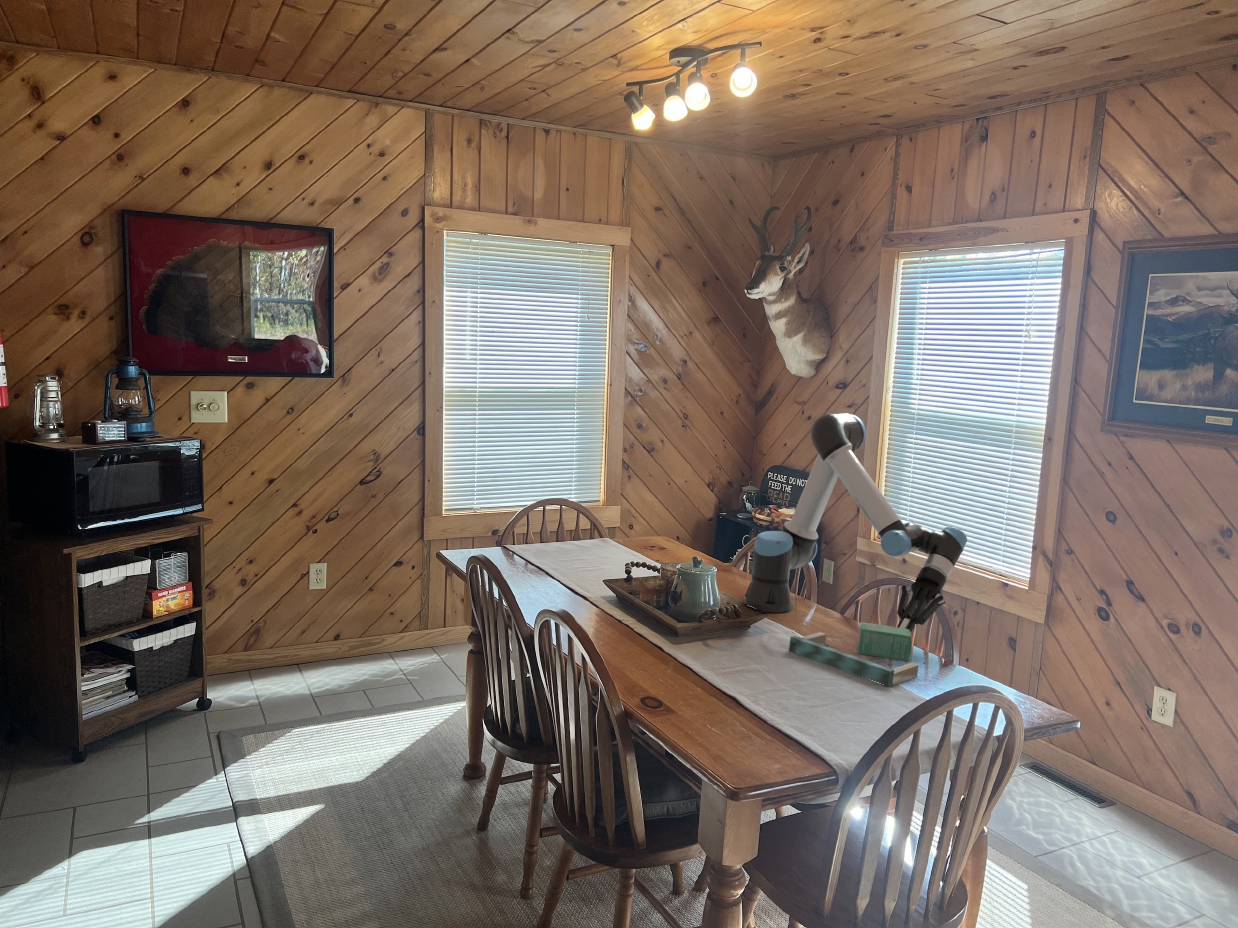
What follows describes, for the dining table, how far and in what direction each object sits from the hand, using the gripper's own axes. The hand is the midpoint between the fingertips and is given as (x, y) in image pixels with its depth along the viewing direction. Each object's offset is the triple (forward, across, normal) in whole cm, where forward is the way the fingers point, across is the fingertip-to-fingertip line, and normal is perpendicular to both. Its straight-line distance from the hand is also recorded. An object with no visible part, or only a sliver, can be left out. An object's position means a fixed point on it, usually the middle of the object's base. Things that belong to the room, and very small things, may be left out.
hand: (898, 640), depth 244 cm
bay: (+17, +1, +13) cm, 21 cm away
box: (+7, +1, +2) cm, 7 cm away
